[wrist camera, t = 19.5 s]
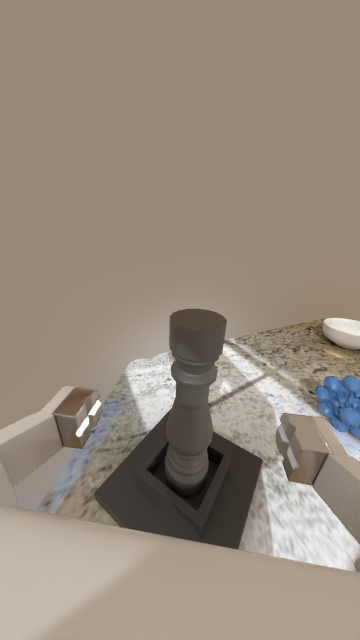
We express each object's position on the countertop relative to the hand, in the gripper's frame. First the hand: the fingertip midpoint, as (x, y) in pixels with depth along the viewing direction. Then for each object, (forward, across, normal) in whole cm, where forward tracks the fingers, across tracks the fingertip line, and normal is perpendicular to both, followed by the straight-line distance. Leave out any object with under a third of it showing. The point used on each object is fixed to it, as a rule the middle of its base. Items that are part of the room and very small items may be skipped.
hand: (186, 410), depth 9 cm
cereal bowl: (+64, +53, -27) cm, 87 cm away
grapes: (+24, +29, -27) cm, 47 cm away
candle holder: (+12, 0, -26) cm, 28 cm away
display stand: (+12, 0, -27) cm, 30 cm away
